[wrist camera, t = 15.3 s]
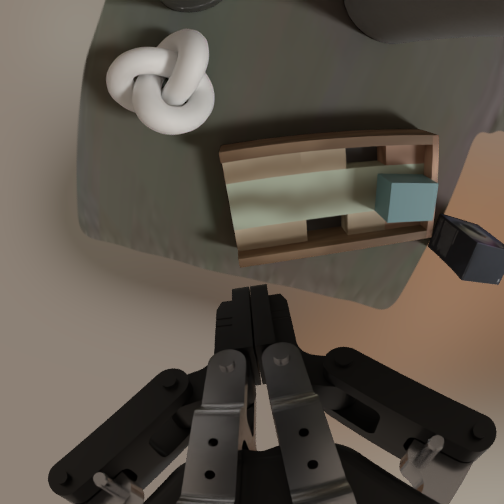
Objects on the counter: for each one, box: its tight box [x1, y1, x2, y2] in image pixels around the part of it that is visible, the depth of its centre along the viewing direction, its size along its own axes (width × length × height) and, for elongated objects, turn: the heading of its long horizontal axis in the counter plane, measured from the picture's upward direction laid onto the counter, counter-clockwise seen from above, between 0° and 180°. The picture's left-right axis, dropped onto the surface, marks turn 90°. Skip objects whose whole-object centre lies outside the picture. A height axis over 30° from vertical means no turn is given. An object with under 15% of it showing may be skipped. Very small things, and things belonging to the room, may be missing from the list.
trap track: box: [219, 129, 439, 268], centre depth 37 cm, size 14×27×5 cm, turn 98°
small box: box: [428, 214, 504, 285], centre depth 39 cm, size 11×6×10 cm, turn 81°
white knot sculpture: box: [106, 29, 214, 135], centre depth 28 cm, size 11×12×9 cm
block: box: [375, 174, 438, 223], centre depth 35 cm, size 5×7×4 cm
